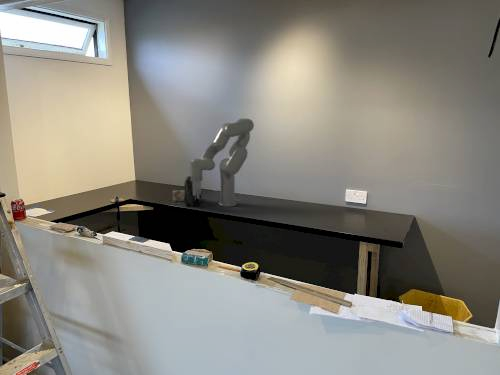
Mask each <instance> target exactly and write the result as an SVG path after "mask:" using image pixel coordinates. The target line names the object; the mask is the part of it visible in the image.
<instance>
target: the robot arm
mask: <svg viewBox="0 0 500 375" xmlns="http://www.w3.org/2000/svg"><path fill="white" fill-rule="evenodd" d="M254 126H255V123H254V121H253V120H252V119H249V118H239V119H237V121H236V122H233V123H231V122H230V123H229V122H227V123H223V125H221V127H220V129H219V130H218V132H217V134H216V135H215V137H214V139H213V140H212V142H211V143H210V145H209V146H208V147H207V148H206V150H205V151H204V152H203V154H202V155H201V157H200V158H192V159H191V160H190V176H191V181H192V194H193V196H195V199H194V200H195V206H194V207H196V206H197V207H198V206H200V205H201V202H200V199H199V195H201V192H202V181H203V171H212V170H214V168H216V162H215V161H214V158H215V156H216V155H217V154H218V153H220V152H221V151H223V150H224V149H225V148H226V146H227V144H228V143H229V141H230V140H231V138H233V137H236V139H235V140H234V142H233V143H232V145H231V147H230V148H229V150H228V154H229V157H230V158H226V157H225V158H223V159H222V160H221V161H220V162H219V174H220V175H219V176H220V200H219V202H218V203H217V204H218V206H220V207H226V208H227V207H235V206H237V205H238V204H237V202H238V203H239V202H240V203H241V202H242V198H236V197H235V191H236V190H235V185H236V184H235V182H236V180H235V179H236V178H235V175H236V174H238V173H239V171H240V169H241V168H242V167H243V165H244V163H245V162H246V160H247V157H248V149H247V146H248V144H249V142H250V138H251V133H250V132H252V131H253V130H254Z"/></svg>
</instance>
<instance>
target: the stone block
mask: <svg viewBox="0 0 500 375" xmlns="http://www.w3.org/2000/svg"><path fill="white" fill-rule="evenodd" d="M183 186H184V187H183V188H184V190H185V194H184V205H185V206H184V207H186V208H187V207H188V208H189V207H196V206H195V200H194V199H195V196H193V194H192V181H191V175H188V176H186V178H185V179H184V184H183ZM201 196H203V192H202V191H201V195H199V199H200V203H201V201H202V200H201Z"/></svg>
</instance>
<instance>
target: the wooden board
mask: <svg viewBox="0 0 500 375" xmlns="http://www.w3.org/2000/svg"><path fill="white" fill-rule="evenodd" d="M184 194H185V189H184V190H183V189H182V190H172V202H182V201H184ZM202 196H203V195H202ZM202 196H201V201H202Z"/></svg>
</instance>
